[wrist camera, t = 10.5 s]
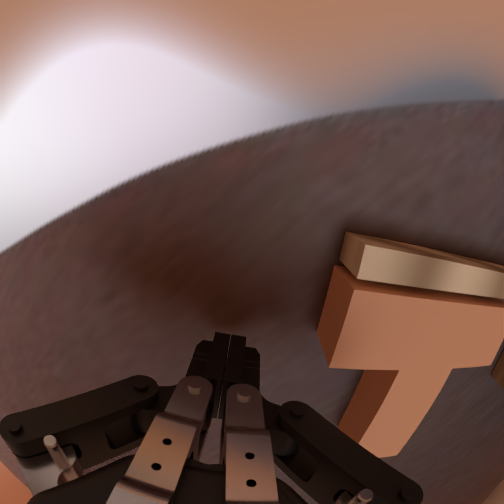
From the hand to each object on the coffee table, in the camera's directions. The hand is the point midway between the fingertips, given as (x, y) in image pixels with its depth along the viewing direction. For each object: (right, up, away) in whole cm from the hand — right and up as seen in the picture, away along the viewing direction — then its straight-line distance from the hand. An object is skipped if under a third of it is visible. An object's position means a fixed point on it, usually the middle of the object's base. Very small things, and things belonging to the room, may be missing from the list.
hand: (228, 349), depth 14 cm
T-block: (+10, -3, +3) cm, 11 cm away
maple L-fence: (+15, -1, +2) cm, 15 cm away
